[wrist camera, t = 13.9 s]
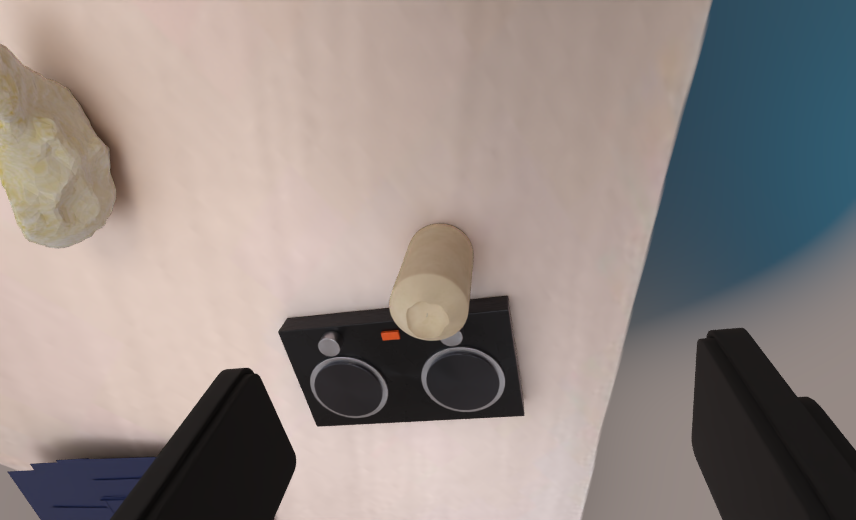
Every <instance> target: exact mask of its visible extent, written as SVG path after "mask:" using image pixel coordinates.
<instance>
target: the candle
mask: <svg viewBox="0 0 856 520" xmlns="http://www.w3.org/2000/svg"><path fill="white" fill-rule="evenodd" d="M472 268H473V249H472V245H471V243H470V241H469V239H468V237H467V236H466V235H465V234H464V233H463V232H462V231H461V230H459V229H458V228H456V227H454V226H451V225H448V224H432V225H428V226H426V227H424V228H422V229H421V230H419V231H418V232H417V233H416V234H415V235H414V237H413V238H412V240H411V242H410V244H409V246H408V249H407V252H406V254H405V257H404V260H403V263H402V265H401V268H400V271H399V274H398V276H397V279H396V282H395V285H394V287H393V290H392V293H391V296H390V300H389V309H390V313H391V316H392V318H393V320H394V322H395V323H396V324H397V325H398V327H399V328H400V329H402V330H403V331H404V332H405V333H407V334H409V335H410V336H413V337H415V338H418V339H421V340H428V341H436V340H442V339H446V338H449V337H451V336H453V335H454V334H456V333H457V332H458V331H459V330H460V329H461V328H462V327H463V326H464V324H465V322H466V320H467V317H468V311H469V300H470V289H471V279H472Z"/></svg>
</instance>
